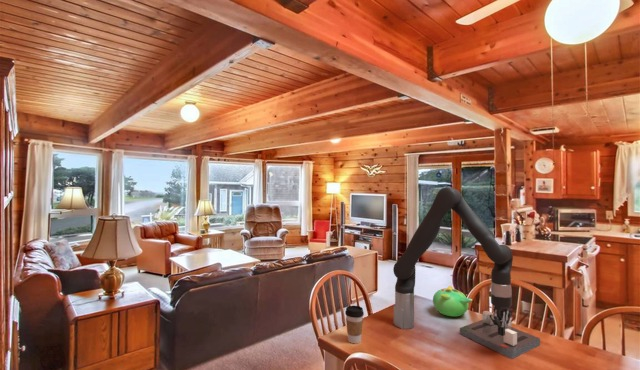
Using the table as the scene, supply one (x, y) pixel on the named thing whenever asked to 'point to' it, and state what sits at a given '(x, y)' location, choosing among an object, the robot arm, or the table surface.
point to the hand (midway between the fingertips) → (501, 334)
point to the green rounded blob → (451, 302)
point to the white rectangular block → (510, 337)
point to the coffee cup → (354, 323)
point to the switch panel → (498, 337)
